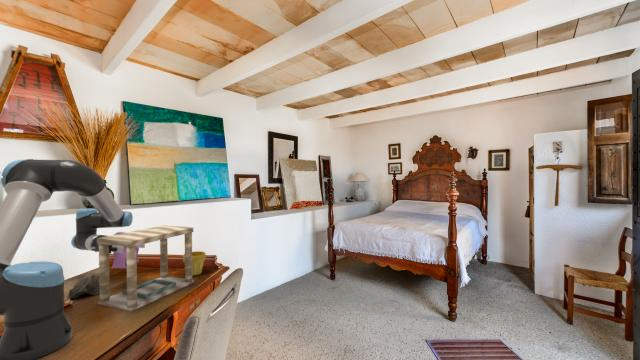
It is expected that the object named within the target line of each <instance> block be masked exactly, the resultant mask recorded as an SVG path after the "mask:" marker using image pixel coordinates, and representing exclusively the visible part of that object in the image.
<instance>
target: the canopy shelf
mask: <svg viewBox="0 0 640 360" xmlns="http://www.w3.org/2000/svg"><path fill="white" fill-rule="evenodd" d="M193 233H194V227H193V226H192V227H191V226H188V227H187V226H177V225H159V226H154V227H148V228H144V229H138V230H134V231H133V230H132V231H127V232H126V233H121V234H116V235H114V234H112V235H106V237H100V238H97V244H99V252H98V277H99V279H98V280H99V292H100V293H99V300H98V301H97V304H98V305H99V306H100V305H101V306H106V307H110V308H114V309H118V310H122V311H127V312H133V311H135V310H138V309H139V308H141V307H145V306H146V305H148V304H151V303H153V302H155V301H157V300H159V299H161V298H163V297H166V296H167V295H170V294H172V293H174V292H176V291H178V290H180V289H183V288H185V287H188V286H189V285H191V284H193V283H195V280H194V279H193V275H192V252H193ZM183 235H184V254H185V263H184V278H183V277H175V276H169V268H168V267H169V265H168V262H169V261H168V260H169V257H168V256H169V255H168V253H169V251H168V239H170V238H173V237H178V236H183ZM154 242H159V249H160V250H159V252H160V253H159V254H160V255H159V256H160V257H159V258H160V259H159V263H160V264H159V265H160V266H159V267H160V268H159V269H160V277H157V278H152V279H151V280H148V281H146V282H142V283H140V284H138V273H137V272H138V271H137V269H138V268H137V267H138V265H137V264H138V262H137V257H136V246H138V245H142V244H145V245H146V244H149V243H154ZM109 245H115V246H123V247H126V259H127V262H126V289H124V290H122V291H121V292H118V293H115V294H113V295H111V296H110V254H109Z"/></svg>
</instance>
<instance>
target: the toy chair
mask: <svg viewBox="0 0 640 360" xmlns="http://www.w3.org/2000/svg"><path fill="white" fill-rule="evenodd" d="M121 233H127V232H126V231H117V232H115V233H114V234H113V235H116V234H121ZM139 251H140V248H138V246H136V257H137V263H139V262H140V260H139ZM112 253H113V254H112V255H113V264H112V265H111V267H110V268H111V269H127V258H126V247H124V253H117V252H112Z"/></svg>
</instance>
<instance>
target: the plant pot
mask: <svg viewBox="0 0 640 360" xmlns="http://www.w3.org/2000/svg"><path fill="white" fill-rule="evenodd" d="M206 254H207V253H206V252H205V251H203V250H202V251H201V250H197V251H192V276H198V275H201V274H202V272H203V267H204V263H205V261H206V256H207V255H206ZM182 262H183V264H185V253H183V255H182Z"/></svg>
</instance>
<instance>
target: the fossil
mask: <svg viewBox="0 0 640 360" xmlns="http://www.w3.org/2000/svg"><path fill="white" fill-rule="evenodd" d="M83 294H87V295H90V296H97V295H98V294H99V295H100V292H99V279H98V278H97V277H96V276H95V274H92V273H87V274H86V275H85V276H84V277H80V278H79V280H78V281H77V282H76V283H75V284H74V285H73V287H72V288H71V289H70V290H69V291H68V294H67V297H68V298H69V299H71V300H74V299H76V298H78V297H80V296H81V295H83Z"/></svg>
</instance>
